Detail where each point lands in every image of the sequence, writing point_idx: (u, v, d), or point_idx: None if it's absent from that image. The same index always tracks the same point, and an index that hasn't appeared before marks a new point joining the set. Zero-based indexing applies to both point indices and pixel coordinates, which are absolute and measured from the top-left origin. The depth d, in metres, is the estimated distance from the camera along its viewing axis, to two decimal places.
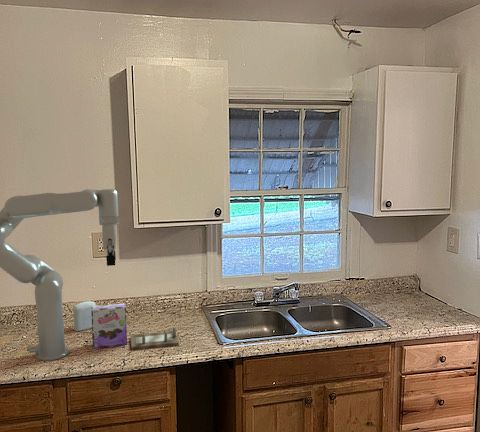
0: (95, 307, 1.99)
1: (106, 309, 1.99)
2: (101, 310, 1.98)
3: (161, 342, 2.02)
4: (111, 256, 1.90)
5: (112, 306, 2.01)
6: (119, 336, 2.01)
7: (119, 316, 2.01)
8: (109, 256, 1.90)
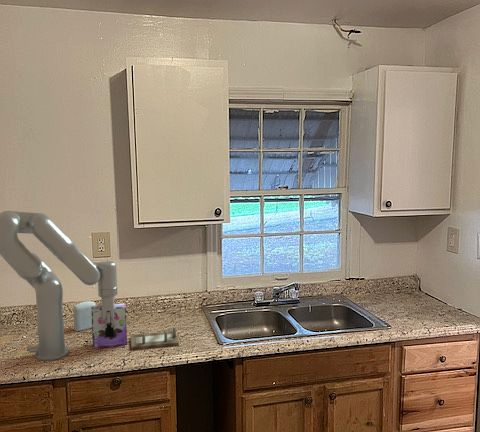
0: (95, 307, 1.99)
1: None
2: (101, 310, 1.98)
3: (161, 342, 2.02)
4: (110, 328, 1.99)
5: None
6: (119, 336, 2.01)
7: (119, 316, 2.00)
8: (108, 328, 1.98)
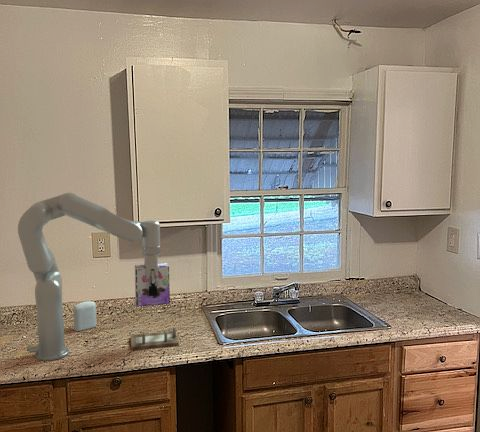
0: (139, 266, 2.00)
1: None
2: None
3: (161, 342, 2.02)
4: (153, 287, 1.99)
5: None
6: (162, 295, 2.02)
7: (163, 275, 2.01)
8: (151, 287, 1.99)
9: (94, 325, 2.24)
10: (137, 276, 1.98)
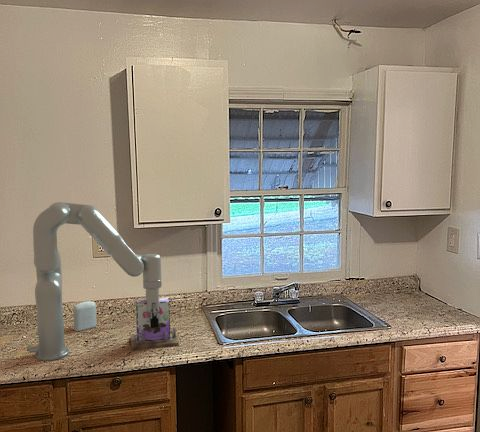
0: (140, 302, 2.02)
1: None
2: (146, 304, 2.01)
3: (161, 342, 2.02)
4: (155, 319, 1.99)
5: None
6: (162, 330, 2.04)
7: (163, 310, 2.03)
8: (153, 319, 1.99)
9: (94, 325, 2.24)
10: (138, 312, 2.00)
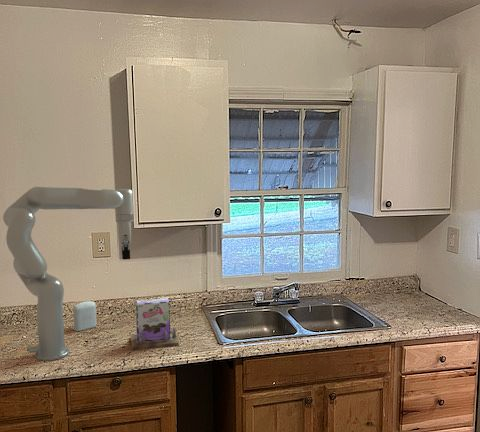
0: (140, 302, 2.02)
1: (150, 304, 2.01)
2: (146, 304, 2.00)
3: (161, 342, 2.02)
4: (126, 250, 2.06)
5: (156, 301, 2.03)
6: (162, 330, 2.04)
7: (163, 311, 2.03)
8: (125, 250, 2.06)
9: (94, 325, 2.24)
10: (138, 312, 2.00)
